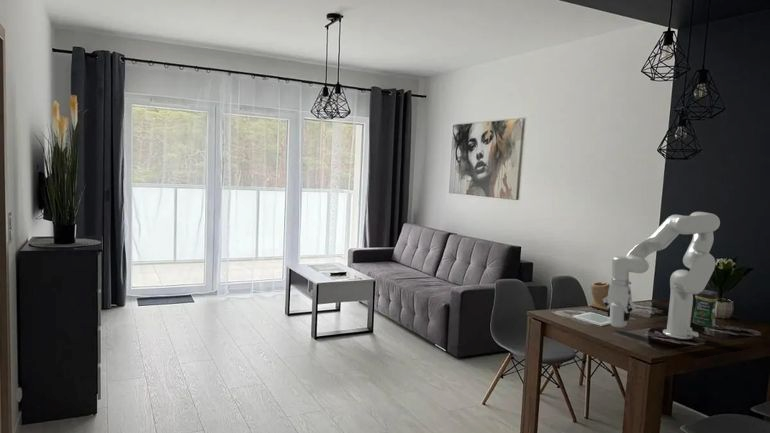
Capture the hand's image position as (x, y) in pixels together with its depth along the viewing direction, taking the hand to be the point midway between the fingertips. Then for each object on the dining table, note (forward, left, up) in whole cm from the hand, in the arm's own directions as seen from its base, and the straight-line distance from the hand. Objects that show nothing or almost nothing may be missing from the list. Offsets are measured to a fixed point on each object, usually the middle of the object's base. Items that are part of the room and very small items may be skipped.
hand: (618, 318), depth 255 cm
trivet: (+17, -9, -6) cm, 20 cm away
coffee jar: (-16, -55, -7) cm, 58 cm away
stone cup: (+28, -34, -7) cm, 44 cm away
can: (0, 0, -4) cm, 4 cm away
